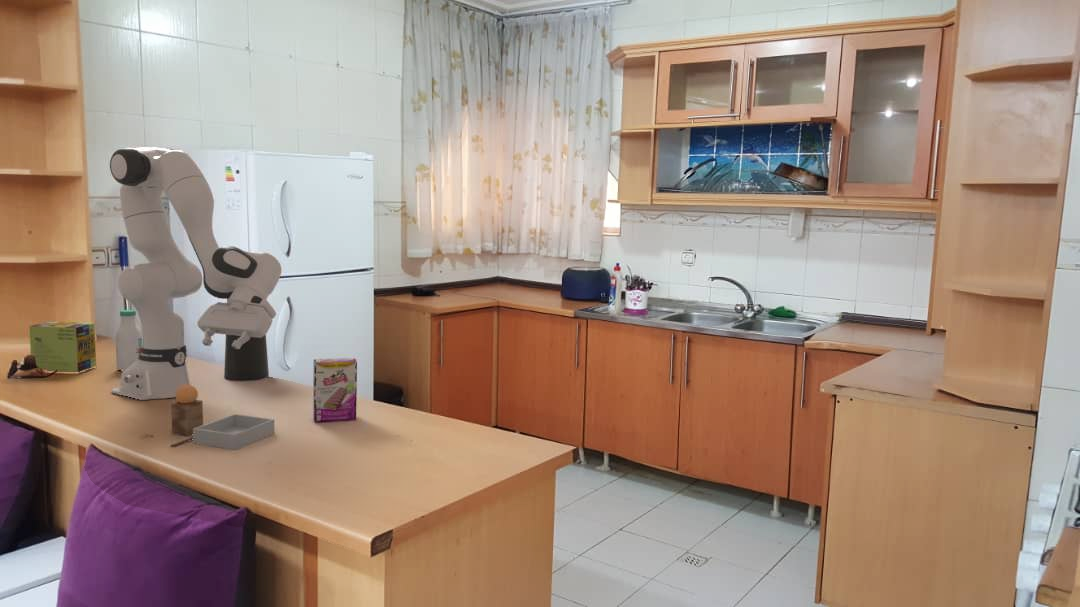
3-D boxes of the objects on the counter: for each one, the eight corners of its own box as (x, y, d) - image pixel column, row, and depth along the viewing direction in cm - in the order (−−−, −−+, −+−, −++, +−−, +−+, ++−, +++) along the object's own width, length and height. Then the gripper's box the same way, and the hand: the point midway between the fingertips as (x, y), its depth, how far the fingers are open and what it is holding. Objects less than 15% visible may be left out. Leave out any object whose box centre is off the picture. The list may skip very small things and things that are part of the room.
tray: (193, 443, 181) (192, 428, 180) (234, 427, 194) (234, 413, 194) (234, 449, 177) (234, 435, 176) (274, 433, 190) (274, 419, 190)
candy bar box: (314, 423, 200) (313, 362, 198) (312, 418, 204) (312, 358, 202) (357, 420, 204) (357, 360, 202) (355, 415, 208) (355, 357, 206)
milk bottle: (135, 372, 250) (132, 312, 247) (111, 371, 250) (109, 311, 247) (147, 367, 257) (145, 309, 255) (125, 366, 257) (122, 308, 255)
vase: (247, 370, 258) (245, 285, 255) (277, 374, 253) (276, 288, 249) (214, 377, 246) (212, 289, 242) (246, 383, 240) (244, 292, 237)
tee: (172, 433, 187) (171, 403, 186) (187, 428, 192) (186, 398, 191) (188, 436, 186) (187, 405, 185) (203, 430, 190) (202, 400, 189)
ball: (171, 405, 186) (170, 386, 186) (186, 401, 191) (186, 381, 190) (187, 408, 185) (186, 388, 184) (202, 403, 189) (202, 383, 189)
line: (170, 446, 178) (170, 445, 178) (236, 422, 199) (236, 420, 199) (174, 446, 178) (174, 445, 178) (239, 422, 198) (239, 421, 198)
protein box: (78, 374, 244) (76, 327, 242) (30, 373, 244) (28, 325, 242) (97, 367, 255) (95, 322, 253) (51, 366, 255) (49, 320, 253)
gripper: (208, 294, 206) (181, 335, 198) (270, 299, 200) (246, 342, 192) (220, 309, 211) (194, 349, 203) (281, 314, 204) (258, 356, 197)
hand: (220, 346), depth 197 cm, fingers open, 8 cm apart
